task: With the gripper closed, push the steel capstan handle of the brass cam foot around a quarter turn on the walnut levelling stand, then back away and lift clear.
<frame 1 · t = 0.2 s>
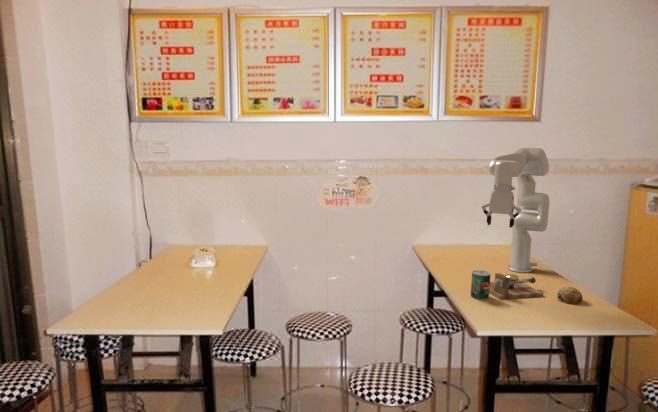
hand: (499, 225, 215), 31 cm above the table, tool pointing down, fingers open, 9 cm apart
bread roll: (569, 301, 208), on the table
stand: (508, 290, 220), on the table
canned tomato: (479, 297, 211), on the table
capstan: (520, 280, 220), point 4 cm above the table, hinge at 0.0°
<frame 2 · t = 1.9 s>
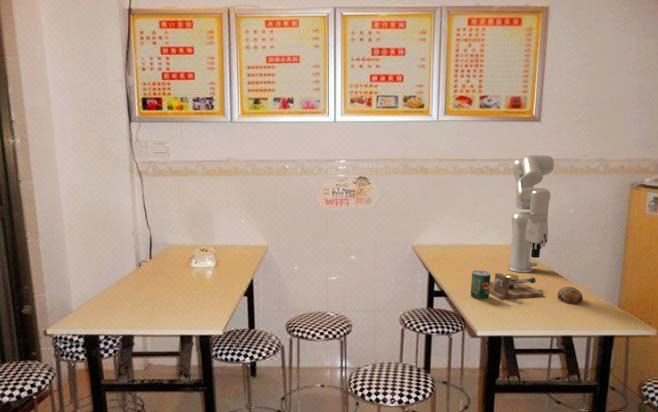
hand: (535, 257, 215), 17 cm above the table, tool pointing down, fingers closed
nothing on the table moved.
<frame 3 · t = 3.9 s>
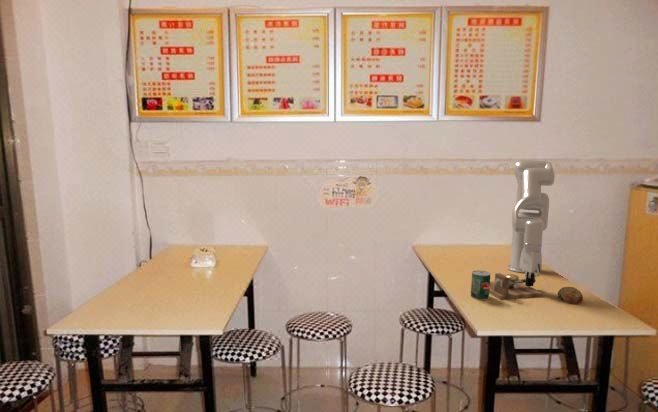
hand: (529, 285, 219), 3 cm above the table, tool pointing down, fingers closed
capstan: (520, 280, 220), point 4 cm above the table, hinge at 0.0°, touching gripper
everything else where it was.
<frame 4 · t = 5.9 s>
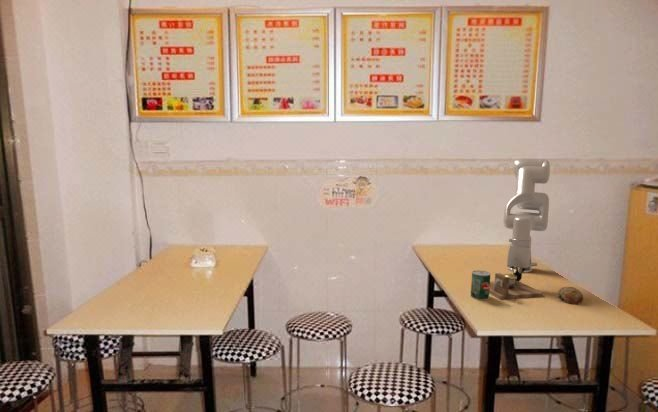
hand: (517, 280, 225), 3 cm above the table, tool pointing down, fingers closed
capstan: (511, 278, 224), point 4 cm above the table, hinge at 45.8°, touching gripper
everything else where it was.
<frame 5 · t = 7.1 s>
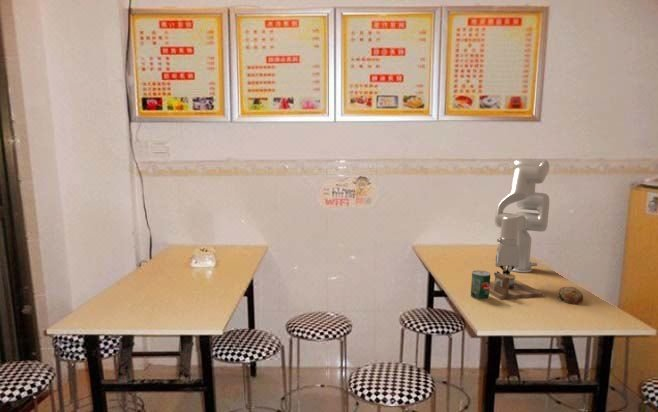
hand: (505, 278, 228), 3 cm above the table, tool pointing down, fingers closed
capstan: (503, 277, 225), point 4 cm above the table, hinge at 81.7°, touching gripper
everything else where it was.
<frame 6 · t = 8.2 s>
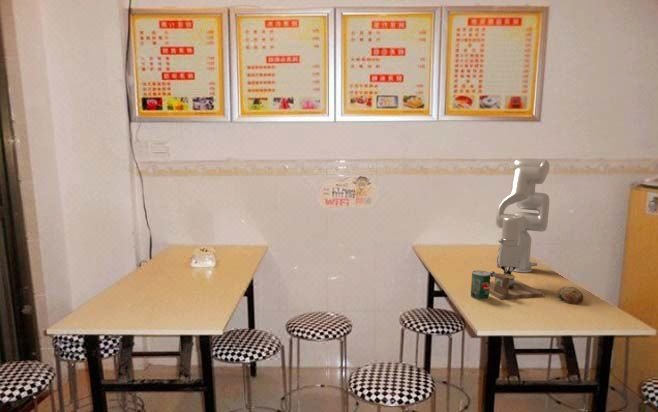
hand: (507, 279, 229), 3 cm above the table, tool pointing down, fingers closed
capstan: (501, 278, 225), point 4 cm above the table, hinge at 92.6°
everything else where it was.
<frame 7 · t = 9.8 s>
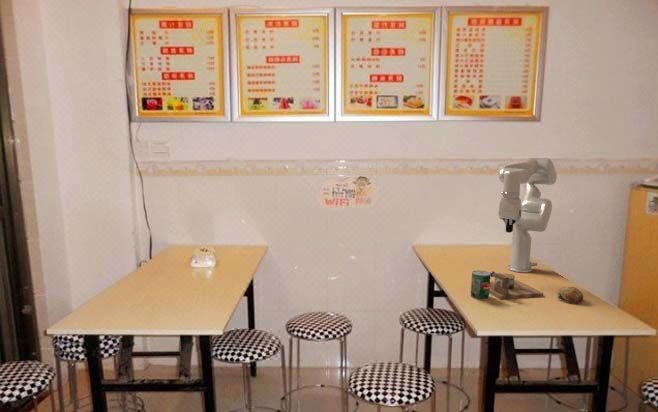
hand: (509, 231, 234), 24 cm above the table, tool pointing down, fingers closed
nothing on the table moved.
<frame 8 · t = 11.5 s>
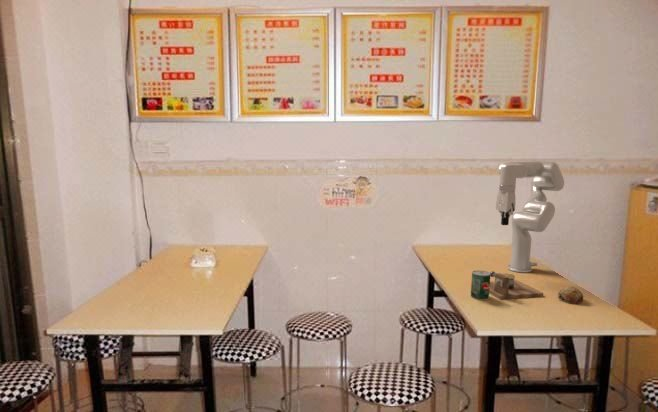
hand: (504, 224, 238), 27 cm above the table, tool pointing down, fingers closed
nothing on the table moved.
at the end: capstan at +93° (first picture: +0°) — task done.
